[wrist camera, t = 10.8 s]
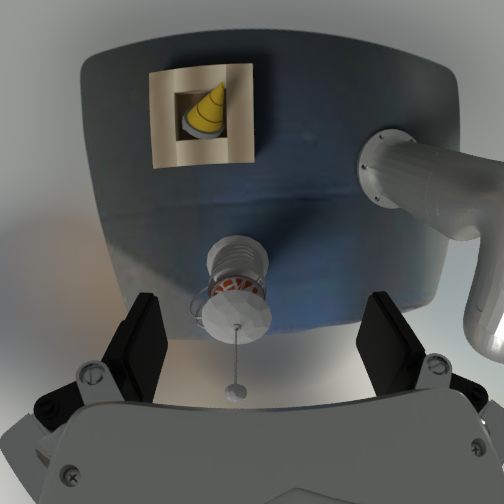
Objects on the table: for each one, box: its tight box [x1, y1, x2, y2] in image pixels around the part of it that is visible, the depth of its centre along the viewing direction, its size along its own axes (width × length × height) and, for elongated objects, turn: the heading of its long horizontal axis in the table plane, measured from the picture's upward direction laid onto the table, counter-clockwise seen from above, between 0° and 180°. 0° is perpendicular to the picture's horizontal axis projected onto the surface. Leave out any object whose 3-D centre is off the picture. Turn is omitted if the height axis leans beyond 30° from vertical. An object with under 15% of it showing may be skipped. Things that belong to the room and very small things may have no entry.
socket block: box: [149, 64, 254, 168], centre depth 32 cm, size 13×13×4 cm
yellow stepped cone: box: [182, 82, 225, 140], centre depth 30 cm, size 5×5×10 cm
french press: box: [189, 235, 272, 402], centre depth 32 cm, size 10×12×25 cm
